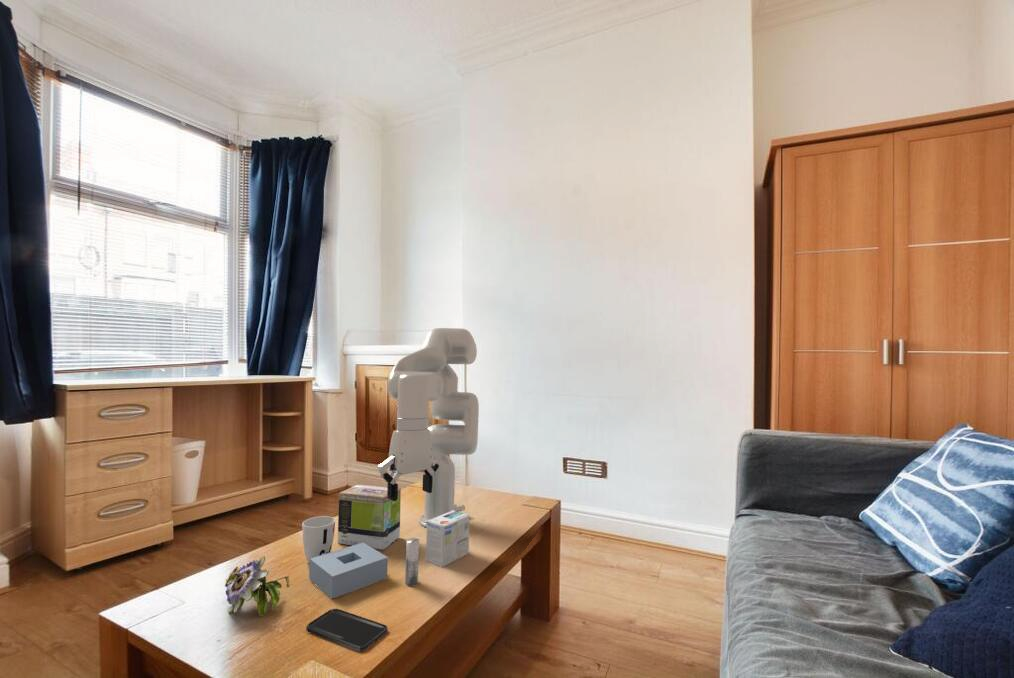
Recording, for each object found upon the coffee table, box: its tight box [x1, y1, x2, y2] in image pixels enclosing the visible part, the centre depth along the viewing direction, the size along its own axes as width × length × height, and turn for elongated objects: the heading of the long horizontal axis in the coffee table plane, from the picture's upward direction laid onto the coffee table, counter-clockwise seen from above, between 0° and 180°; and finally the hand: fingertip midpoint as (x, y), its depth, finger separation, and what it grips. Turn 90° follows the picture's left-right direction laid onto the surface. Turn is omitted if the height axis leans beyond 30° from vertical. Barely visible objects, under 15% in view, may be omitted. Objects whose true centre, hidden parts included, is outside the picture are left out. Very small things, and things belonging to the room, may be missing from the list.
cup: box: [301, 515, 336, 564], centre depth 121 cm, size 8×8×10 cm
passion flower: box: [224, 555, 290, 617], centre depth 99 cm, size 11×11×12 cm
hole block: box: [308, 543, 389, 600], centre depth 111 cm, size 14×12×5 cm
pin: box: [404, 537, 420, 587], centre depth 110 cm, size 3×3×10 cm
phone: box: [305, 608, 388, 653], centre depth 91 cm, size 8×1×15 cm
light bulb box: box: [425, 510, 471, 568], centre depth 124 cm, size 11×7×11 cm, turn 145°
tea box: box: [337, 484, 402, 551], centre depth 134 cm, size 15×10×15 cm
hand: (410, 495), depth 111 cm, fingers open, 9 cm apart
